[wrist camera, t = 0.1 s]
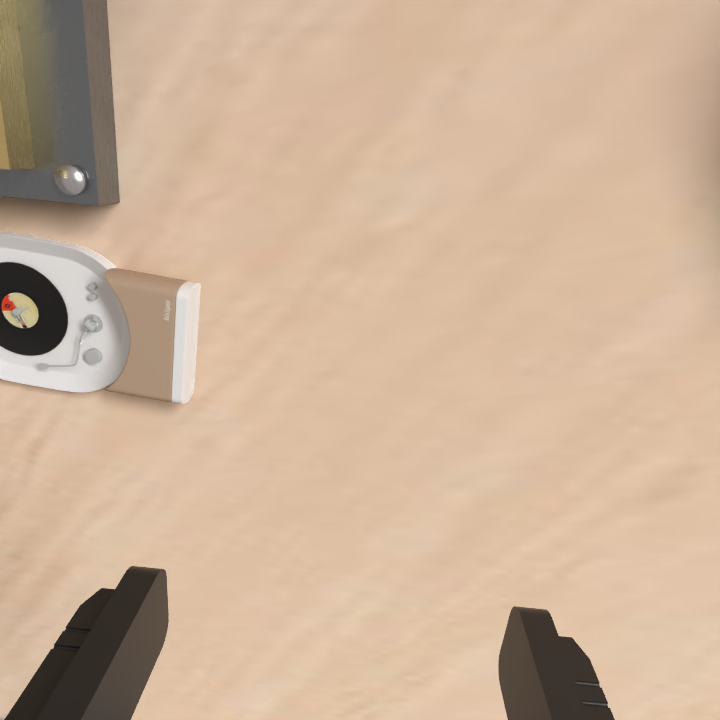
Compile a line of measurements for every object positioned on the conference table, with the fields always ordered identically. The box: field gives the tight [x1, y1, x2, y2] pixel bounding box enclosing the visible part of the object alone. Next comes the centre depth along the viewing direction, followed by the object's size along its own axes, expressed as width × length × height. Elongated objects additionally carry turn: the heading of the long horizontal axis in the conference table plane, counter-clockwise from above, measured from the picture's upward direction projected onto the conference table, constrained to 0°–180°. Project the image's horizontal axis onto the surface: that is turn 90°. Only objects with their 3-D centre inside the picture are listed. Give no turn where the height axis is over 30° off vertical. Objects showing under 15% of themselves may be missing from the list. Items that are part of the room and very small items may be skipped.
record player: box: [0, 231, 201, 404], centre depth 40 cm, size 12×3×20 cm
